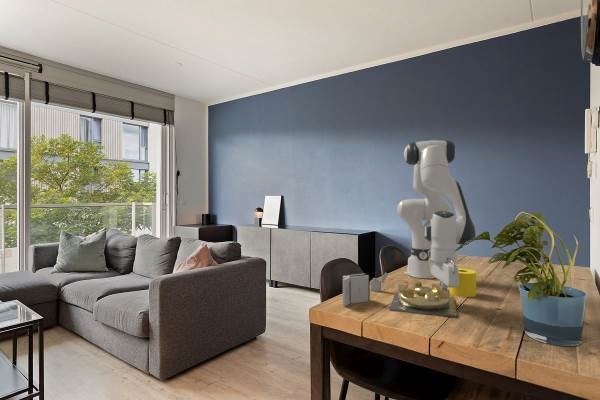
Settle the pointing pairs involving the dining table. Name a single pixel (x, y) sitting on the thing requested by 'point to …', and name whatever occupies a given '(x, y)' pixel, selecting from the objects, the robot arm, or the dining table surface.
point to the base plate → (448, 311)
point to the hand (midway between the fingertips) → (443, 292)
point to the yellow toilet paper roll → (465, 284)
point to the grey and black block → (356, 288)
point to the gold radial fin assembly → (423, 296)
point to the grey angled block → (377, 283)
